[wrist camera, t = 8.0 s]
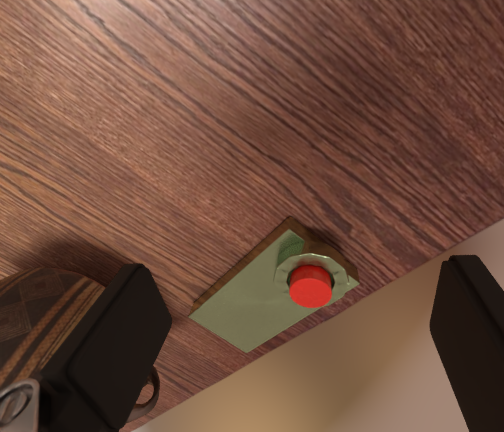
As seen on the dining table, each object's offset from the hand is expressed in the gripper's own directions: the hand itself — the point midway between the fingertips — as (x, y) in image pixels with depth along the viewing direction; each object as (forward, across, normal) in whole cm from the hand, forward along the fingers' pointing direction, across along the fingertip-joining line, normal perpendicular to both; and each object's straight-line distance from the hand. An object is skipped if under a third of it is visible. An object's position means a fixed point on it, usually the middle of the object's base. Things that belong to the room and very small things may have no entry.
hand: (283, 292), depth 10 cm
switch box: (+17, +5, +17) cm, 24 cm away
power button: (+13, 0, +12) cm, 18 cm away
